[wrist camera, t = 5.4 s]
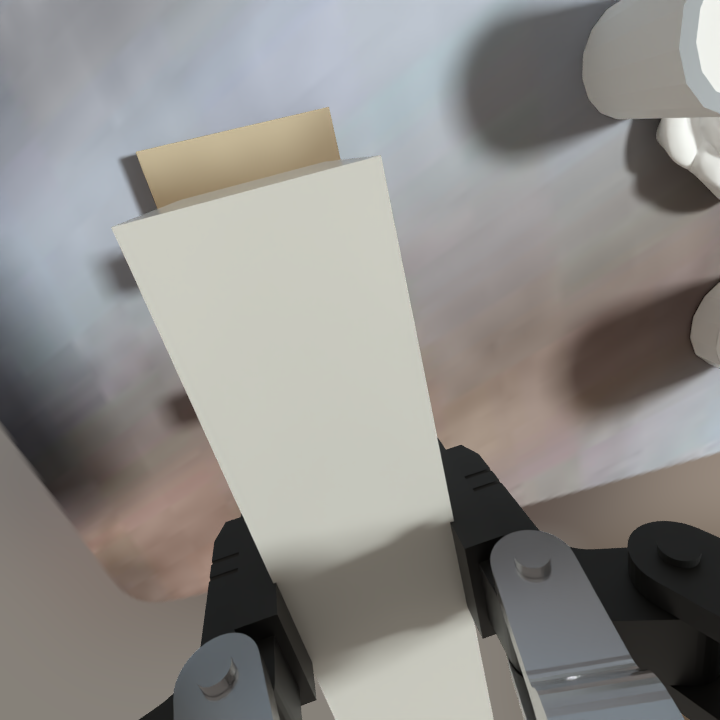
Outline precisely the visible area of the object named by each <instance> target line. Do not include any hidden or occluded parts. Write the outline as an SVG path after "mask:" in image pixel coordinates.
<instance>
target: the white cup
mask: <svg viewBox="0 0 720 720" xmlns="http://www.w3.org/2000/svg"><path fill="white" fill-rule="evenodd" d="M690 339H691V342H692V345H693V348H694V351H695V354H696V355H697V356H699V357H700V358H702V359H703V360H704V361H706V362H707V363H709V364H710V365H712V366H715V367H717V368H719V369H720V282H719V283H718V284H717V285H716V286H715V287H714V288H713V289H712V290H711V291H710V292H708V293H707V294H706V295H705V297H704V298H703V300H702V302H701V304H700V305H699V307H698V309H697V311H696V313H695V315H694V316H693V321H692V328H691V334H690Z"/></svg>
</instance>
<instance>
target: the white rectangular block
mask: <svg viewBox="0 0 720 720" xmlns="http://www.w3.org/2000/svg"><path fill="white" fill-rule="evenodd" d="M111 228H112V230H113V232H114V234H115V237H116V239H117V241H118V243H119V245H120V248H121V250H122V252H123V254H124V256H125V259H126V261H127V263H128V265H129V267H130V270H131V272H132V274H133V276H134V278H135V281H136V283H137V285H138V287H139V289H140V292H141V294H142V296H143V298H144V300H145V302H146V305H147V307H148V309H149V311H150V313H151V316H152V318H153V320H154V322H155V324H156V327H157V329H158V331H159V333H160V335H161V338H162V340H163V342H164V344H165V346H166V349H167V351H168V353H169V355H170V357H171V360H172V362H173V364H174V366H175V368H176V371H177V373H178V375H179V377H180V379H181V382H182V384H183V386H184V388H185V390H186V393H187V395H188V397H189V399H190V401H191V404H192V406H193V408H194V410H195V412H196V415H197V417H198V419H199V421H200V423H201V426H202V428H203V430H204V432H205V434H206V437H207V439H208V441H209V443H210V445H211V447H212V450H213V452H214V454H215V456H216V458H217V461H218V463H219V465H220V467H221V469H222V472H223V474H224V476H225V478H226V480H227V483H228V485H229V487H230V489H231V491H232V494H233V496H234V498H235V500H236V502H237V505H238V507H239V509H240V511H241V513H242V516H243V518H244V520H245V522H246V524H247V527H248V529H249V531H250V533H251V535H252V538H253V540H254V542H255V544H256V546H257V549H258V551H259V553H260V555H261V557H262V560H263V562H264V564H265V566H266V568H267V571H268V573H269V575H270V577H271V579H272V582H273V583H277V585H278V588H279V590H280V592H281V594H282V597H283V599H284V601H285V603H286V605H287V608H288V610H289V612H290V614H291V617H292V619H293V621H294V623H295V625H296V628H297V630H298V632H299V634H300V636H301V639H302V641H303V643H304V645H305V648H306V650H307V652H308V654H309V656H310V659H311V661H312V663H313V672H314V674H315V676H316V678H317V680H318V683H319V685H320V687H321V689H322V691H323V694H324V695H325V698H326V700H327V702H328V704H329V707H330V709H331V711H332V713H333V716H334V718H335V720H494V719H493V714H492V710H491V704H490V699H489V694H488V689H487V684H486V679H485V674H484V669H483V665H482V659H481V654H480V649H479V644H478V639H477V634H476V629H475V624H474V620H473V618H472V616H471V614H470V611H469V609H468V607H467V603H466V598H465V593H464V588H463V583H462V579H461V574H460V569H459V564H458V559H457V554H456V549H455V544H454V539H453V535H452V530H451V525H450V522H453V521H454V519H453V514H452V509H451V504H450V499H449V494H448V489H447V484H446V479H445V474H444V469H443V464H442V459H441V454H440V449H439V444H438V439H437V434H436V429H435V424H434V419H433V414H432V409H431V404H430V399H429V394H428V389H427V384H426V379H425V374H424V369H423V364H422V359H421V354H420V349H419V344H418V339H417V334H416V329H415V324H414V319H413V314H412V309H411V304H410V299H409V294H408V289H407V284H406V279H405V274H404V269H403V264H402V259H401V254H400V249H399V244H398V239H397V234H396V229H395V224H394V219H393V214H392V209H391V204H390V199H389V194H388V189H387V184H386V179H385V174H384V169H383V164H382V159H381V155H380V156H371V157H362V158H352V159H343V160H334V161H325V162H322V163H318V164H314V165H310V166H306V167H303V168H299V169H295V170H291V171H288V172H284V173H280V174H276V175H272V176H269V177H265V178H261V179H257V180H254V181H250V182H246V183H242V184H238V185H235V186H231V187H227V188H223V189H220V190H216V191H212V192H208V193H205V194H201V195H197V196H193V197H189V198H186V199H182V200H179V201H176V202H174V203H171V204H169V205H166V206H164V207H161V208H159V209H156V210H153V211H151V212H148V213H146V214H143V215H141V216H138V217H136V218H133V219H131V220H128V221H126V222H123V223H121V224H118V225H116V226H113V227H111Z"/></svg>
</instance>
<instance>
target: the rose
mask: <svg viewBox="0 0 720 720" xmlns="http://www.w3.org/2000/svg"><path fill="white" fill-rule="evenodd" d="M656 138H657V141H658V143H659V144H660V145H661V146H662V147H663V148H664V149H665V150H666V152H667V153H668V155H669V156H670V158H671V159H672V160H673V161H674V162H675V163H676V164H678V165H680V166H681V167H683V168H685V169H688V170H689V171H690V172H691V173H693V174H694V175H695V176H696V177H697V178H698V179H699V180H700V181H701V182H702V183H703V184H704V185H705V186H706V187H707V188H708V189H709V190H710V191H711V192H712V193H713V194H714V195H715V196H716V197H717V198H718V199H720V117H697V118H662V119H661V121H660V123H659V126H658V128H657V132H656Z"/></svg>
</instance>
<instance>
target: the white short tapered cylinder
mask: <svg viewBox="0 0 720 720" xmlns="http://www.w3.org/2000/svg"><path fill="white" fill-rule="evenodd" d="M582 80H583V83H584V86H585V89H586V93H587V96H588V99H589V100H590V102H591V103H592V104H593V105H594V106H595V107H596V109H597V110H598V111H599V112H600V113H601V114H604V115H606V116H609V117H612V118H614V119H654V118H697V117H720V0H620V1H619V2H617V3H616V4H614V5H613V6H611V7H610V8H608V9H607V10H606V11H605V12H604V14H603V15H602V16H601V18H600V19H599V20H598V22H597V23H596V24H595V26H594V27H593V28H592V30H591V33H590V36H589V39H588V41H587V44H586V47H585V50H584V53H583V69H582Z"/></svg>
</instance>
